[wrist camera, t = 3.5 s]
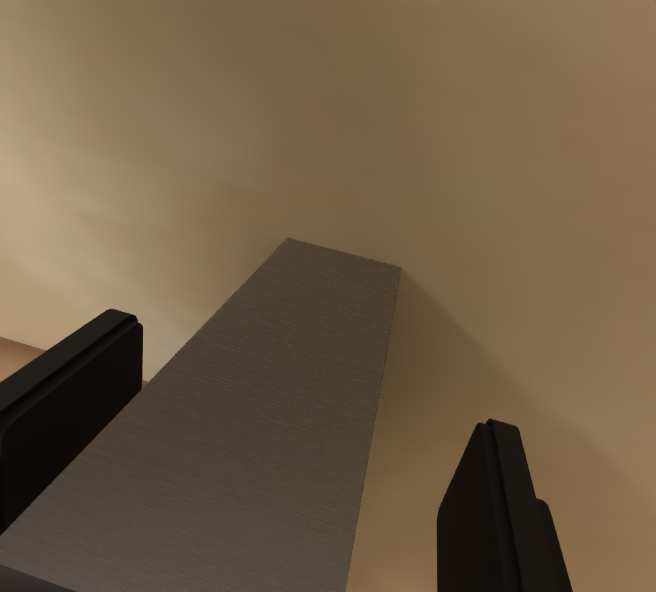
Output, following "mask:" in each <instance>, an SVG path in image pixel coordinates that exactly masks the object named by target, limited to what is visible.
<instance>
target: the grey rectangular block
mask: <svg viewBox="0 0 656 592" xmlns="http://www.w3.org/2000/svg"><path fill="white" fill-rule="evenodd" d="M400 273H401V268H400V267H396V266H393V265H389V264H385V263H381V262H377V261H374V260H370V259H366V258H362V257H358V256H354V255H351V254H347V253H343V252H339V251H335V250H332V249H328V248H324V247H320V246H316V245H312V244H309V243H305V242H301V241H297V240H293V239H290V238H287V239H286V240H285V241H284V242H283V244H282V245H281V246H280V247H279V248H278V249H277V250H276V251H275V252H274V253H273V254H272V255H271V256H270V257H269V258H268V259H267V260H266V261H265V262H264V263H263V264H262V265H261V266H260V267H259V268H258V269H257V270H256V272H255V273H254V274H253V275H252V276H251V277H250V278H249V279H248V280H247V281H246V282H245V283H244V284H243V285H242V286H241V287H240V288H239V289H238V290H237V291H236V292H235V293H234V294H233V295H232V296H231V297H230V298H229V299H228V301H227V302H226V303H225V304H224V305H223V306H222V307H221V308H220V309H219V310H218V311H217V312H216V313H215V314H214V315H213V316H212V317H211V318H210V319H209V320H208V321H207V322H206V323H205V324H204V325H203V326H202V327H201V329H200V330H199V331H198V332H197V333H196V334H195V335H194V336H193V337H192V338H191V339H190V340H189V341H188V342H187V343H186V344H185V345H184V346H183V347H182V348H181V349H180V350H179V351H178V352H177V353H176V354H175V355H174V356H173V358H172V359H171V360H170V361H169V362H168V363H167V364H166V365H165V366H164V367H163V368H162V369H161V370H160V371H159V372H158V373H157V374H156V375H155V376H154V377H153V378H152V379H151V380H150V381H149V382H148V383H147V384H146V386H145V387H144V388H143V389H142V390H141V391H140V392H139V393H138V394H137V395H136V396H135V397H134V398H133V399H132V400H131V401H130V402H129V403H128V404H127V405H126V406H125V407H124V408H123V409H122V410H121V411H120V412H119V413H118V415H117V416H116V417H115V418H114V419H113V420H112V421H111V422H110V423H109V424H108V425H107V426H106V427H105V428H104V429H103V430H102V431H101V432H100V433H99V434H98V435H97V436H96V437H95V438H94V439H93V440H92V441H91V443H90V444H89V445H88V446H87V447H86V448H85V449H84V450H83V451H82V452H81V453H80V454H79V455H78V456H77V457H76V458H75V459H74V460H73V461H72V462H71V463H70V464H69V465H68V466H67V467H66V468H65V469H64V470H63V472H62V473H61V474H60V475H59V476H58V477H57V478H56V479H55V480H54V481H53V482H52V483H51V484H50V485H49V486H48V487H47V488H46V489H45V490H44V491H43V492H42V493H41V494H40V495H39V496H38V497H37V498H36V500H35V501H34V502H33V503H32V504H31V505H30V506H29V507H28V508H27V509H26V510H25V511H24V512H23V513H22V514H21V515H20V516H19V517H18V518H17V519H16V520H15V521H14V522H13V523H12V524H11V525H10V526H9V528H8V529H7V530H6V531H5V532H4V533H3V534H2V535H1V536H0V592H345V589H346V583H347V578H348V572H349V566H350V560H351V555H352V549H353V543H354V537H355V532H356V526H357V520H358V514H359V509H360V503H361V497H362V491H363V486H364V480H365V474H366V468H367V463H368V457H369V451H370V445H371V440H372V434H373V428H374V422H375V417H376V411H377V405H378V399H379V394H380V388H381V382H382V376H383V371H384V365H385V359H386V353H387V348H388V342H389V336H390V330H391V324H392V319H393V313H394V307H395V301H396V296H397V290H398V284H399V278H400Z"/></svg>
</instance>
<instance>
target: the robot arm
mask: <svg viewBox="0 0 656 592" xmlns="http://www.w3.org/2000/svg"><path fill="white" fill-rule="evenodd" d="M142 363H143V326H142V324H140V323H138V320H137V317H136V316H135V315H132V314H129V313H125V312H122V311H118V310H115V309H108V310H106V311H105V312H103V313H102V314H100V315H99V316H97V317H96V318H94V319H93V320H91V321H90V322H88V323H87V324H86V325H84V326H83V327H81V328H80V329H78V330H77V331H75V332H74V333H72V334H71V335H69V336H68V337H66V338H65V339H63V340H62V341H60V342H59V343H57V344H56V345H55V346H53V347H52V348H50V349H49V350H47V351H46V352H44V353H43V354H41V355H40V356H38V357H37V358H35V359H34V360H32V361H31V362H29V363H28V364H26V365H25V366H23V367H22V368H21V369H19V370H18V371H16V372H15V373H13V374H12V375H10V376H9V377H7V378H6V379H4V380H3V381H1V382H0V536H1V535H2V534H3V533H4V532H5V531H6V530H7V529H8V528H9V526H10V525H11V524H12V523H13V522H14V521H15V520H16V519H17V518H18V517H19V516H20V515H21V514H22V513H23V512H24V511H25V510H26V509H27V508H28V507H29V506H30V505H31V504H32V503H33V502H34V501H35V500H36V498H37V497H38V496H39V495H40V494H41V493H42V492H43V491H44V490H45V489H46V488H47V487H48V486H49V485H50V484H51V483H52V482H53V481H54V480H55V479H56V478H57V477H58V476H59V475H60V474H61V473H62V472H63V470H64V469H65V468H66V467H67V466H68V465H69V464H70V463H71V462H72V461H73V460H74V459H75V458H76V457H77V456H78V455H79V454H80V453H81V452H82V451H83V450H84V449H85V448H86V447H87V446H88V445H89V444H90V443H91V441H92V440H93V439H94V438H95V437H96V436H97V435H98V434H99V433H100V432H101V431H102V430H103V429H104V428H105V427H106V426H107V425H108V424H109V423H110V422H111V421H112V420H113V419H114V418H115V417H116V416H117V415H118V413H119V412H120V411H121V410H122V409H123V408H124V407H125V406H126V405H127V404H128V403H129V402H130V401H131V400H132V399H133V398H134V397H135V396H136V395H137V394H138V393H139V392H140V391H141V390H142ZM437 592H573V591H572V587H571V584H570V580H569V577H568V573H567V569H566V566H565V562H564V559H563V555H562V551H561V548H560V544H559V541H558V537H557V534H556V530H555V526H554V523H553V519H552V516H551V512H550V510H549V507H548V505H547V504H546V503H545V501H543V500H540V499H537V498H536V496H535V492H534V488H533V484H532V480H531V476H530V472H529V468H528V464H527V460H526V456H525V452H524V448H523V444H522V440H521V436H520V432H519V429H518V427H516V426H514V425H510V424H507V423H504V422H500V421H497V420H493V419H489V420H488V421H487V422H486V424H483V423H478V424H477V425H476V427H475V429H474V431H473V433H472V436H471V438H470V440H469V442H468V445H467V447H466V449H465V451H464V454H463V456H462V458H461V460H460V463H459V465H458V467H457V469H456V471H455V474H454V476H453V478H452V480H451V483H450V485H449V487H448V489H447V492H446V494H445V496H444V498H443V501H442V503H441V505H440V508H439V511H438V516H437Z"/></svg>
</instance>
